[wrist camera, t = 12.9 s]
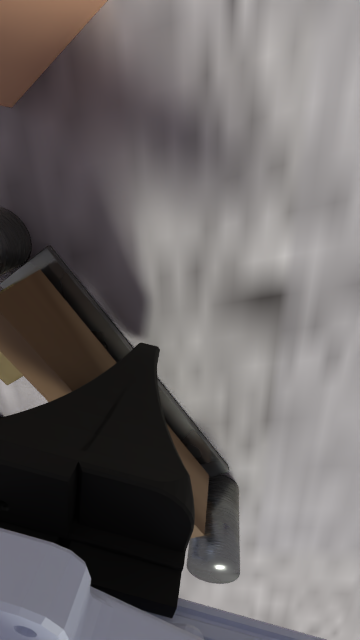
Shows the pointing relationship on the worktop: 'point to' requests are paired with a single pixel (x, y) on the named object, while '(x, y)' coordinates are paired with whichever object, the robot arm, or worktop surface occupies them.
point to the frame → (223, 493)
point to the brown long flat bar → (68, 358)
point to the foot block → (36, 39)
